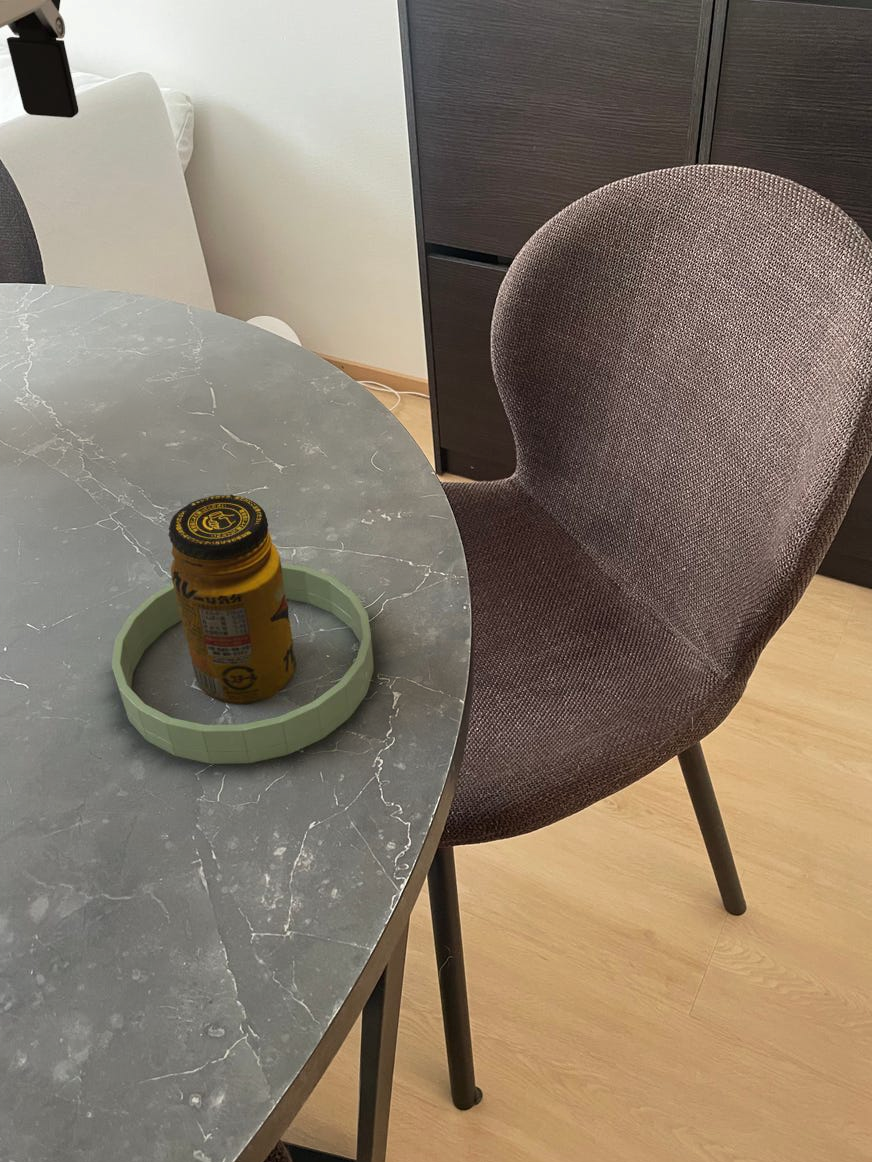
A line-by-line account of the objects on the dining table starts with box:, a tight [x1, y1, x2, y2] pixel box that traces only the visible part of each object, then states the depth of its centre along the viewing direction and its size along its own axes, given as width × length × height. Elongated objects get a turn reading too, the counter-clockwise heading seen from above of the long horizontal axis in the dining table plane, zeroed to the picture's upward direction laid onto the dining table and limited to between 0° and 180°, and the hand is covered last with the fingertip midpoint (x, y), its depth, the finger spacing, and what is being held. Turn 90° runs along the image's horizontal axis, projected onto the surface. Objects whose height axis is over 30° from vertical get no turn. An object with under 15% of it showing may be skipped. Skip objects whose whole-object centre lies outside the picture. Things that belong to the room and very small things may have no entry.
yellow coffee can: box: [168, 494, 297, 705], centre depth 59 cm, size 7×8×12 cm
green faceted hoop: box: [111, 562, 375, 765], centre depth 63 cm, size 15×15×4 cm
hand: (14, 140), depth 59 cm, fingers open, 9 cm apart
